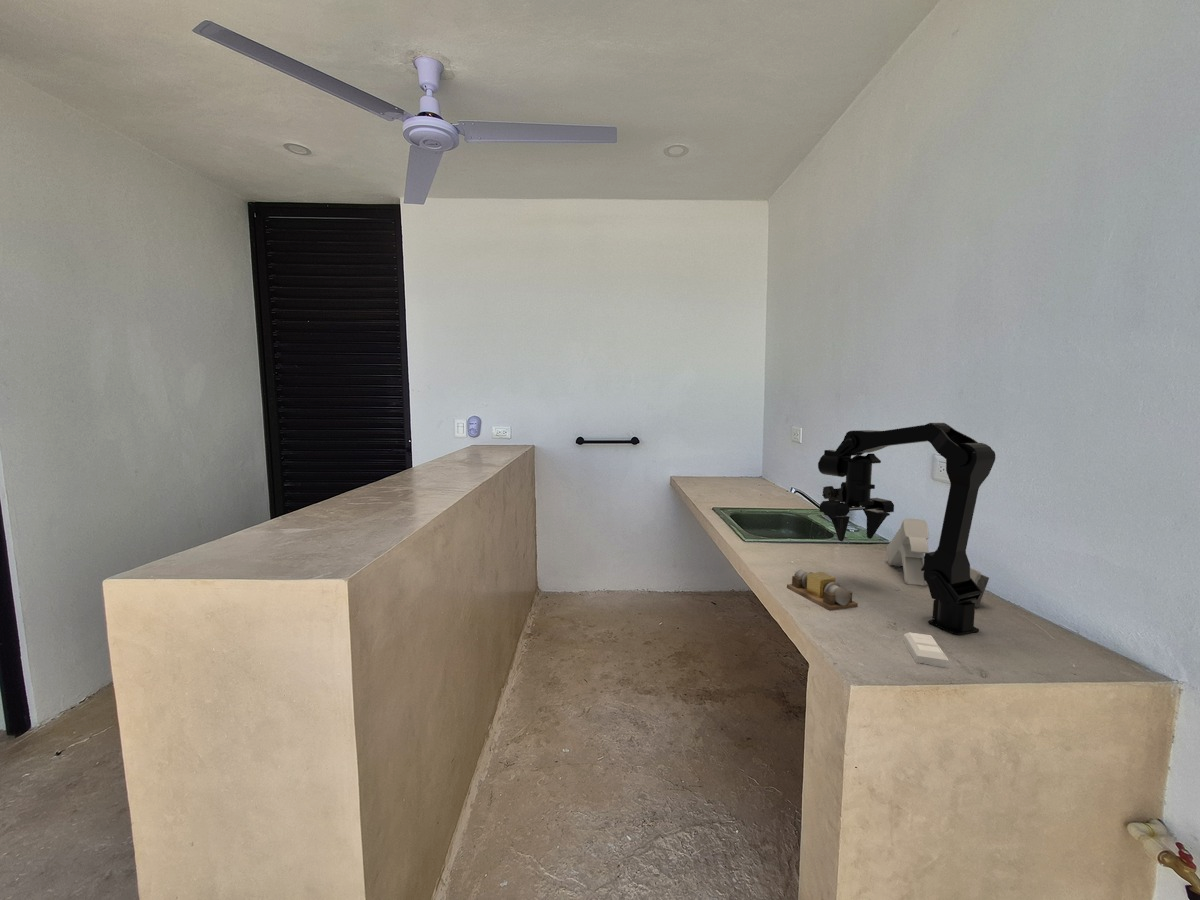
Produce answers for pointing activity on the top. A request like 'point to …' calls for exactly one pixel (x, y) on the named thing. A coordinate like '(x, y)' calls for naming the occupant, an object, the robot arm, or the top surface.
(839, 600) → the pipe cradle
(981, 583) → the electrical switch
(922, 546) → the beige angular piece
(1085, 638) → the top surface
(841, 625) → the top surface
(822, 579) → the yellow hollow block
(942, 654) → the soap bar
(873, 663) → the top surface
